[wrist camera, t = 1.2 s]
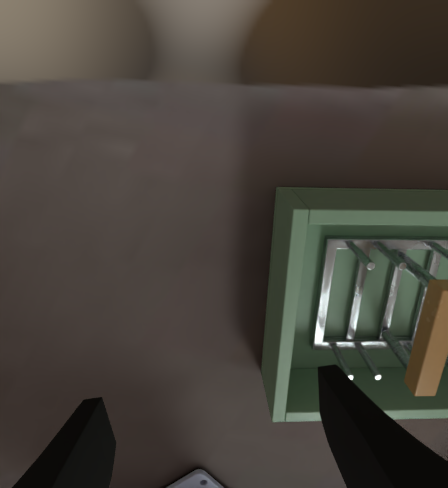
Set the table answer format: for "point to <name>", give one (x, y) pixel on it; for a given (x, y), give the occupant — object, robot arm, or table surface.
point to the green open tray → (344, 295)
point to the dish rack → (390, 308)
